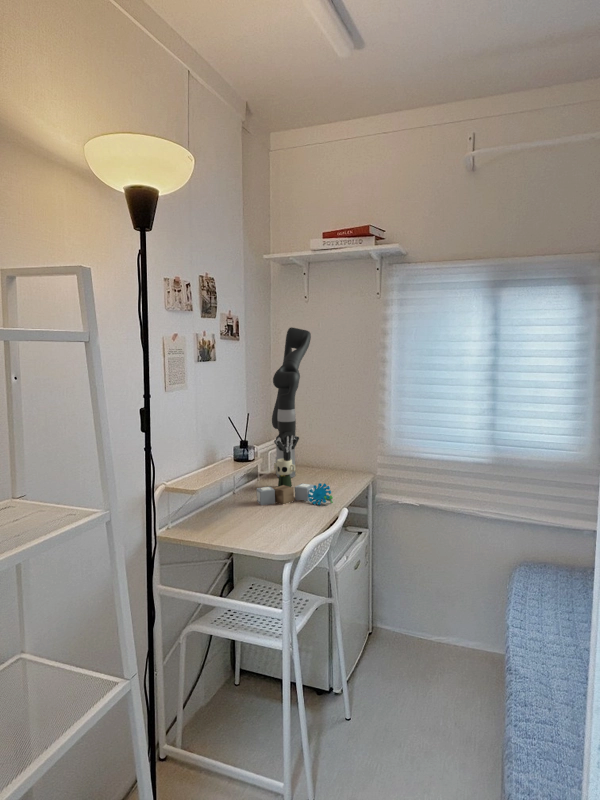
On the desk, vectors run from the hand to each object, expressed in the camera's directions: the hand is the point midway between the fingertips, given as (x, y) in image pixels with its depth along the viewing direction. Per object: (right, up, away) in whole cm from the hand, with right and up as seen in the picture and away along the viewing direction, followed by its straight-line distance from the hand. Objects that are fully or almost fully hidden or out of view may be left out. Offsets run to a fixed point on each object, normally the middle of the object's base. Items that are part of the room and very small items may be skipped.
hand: (287, 460), depth 224 cm
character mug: (-1, -15, +20) cm, 25 cm away
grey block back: (+7, -17, +1) cm, 18 cm away
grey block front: (-9, -17, -2) cm, 20 cm away
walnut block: (-1, -17, -2) cm, 17 cm away
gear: (+14, -17, -5) cm, 23 cm away
